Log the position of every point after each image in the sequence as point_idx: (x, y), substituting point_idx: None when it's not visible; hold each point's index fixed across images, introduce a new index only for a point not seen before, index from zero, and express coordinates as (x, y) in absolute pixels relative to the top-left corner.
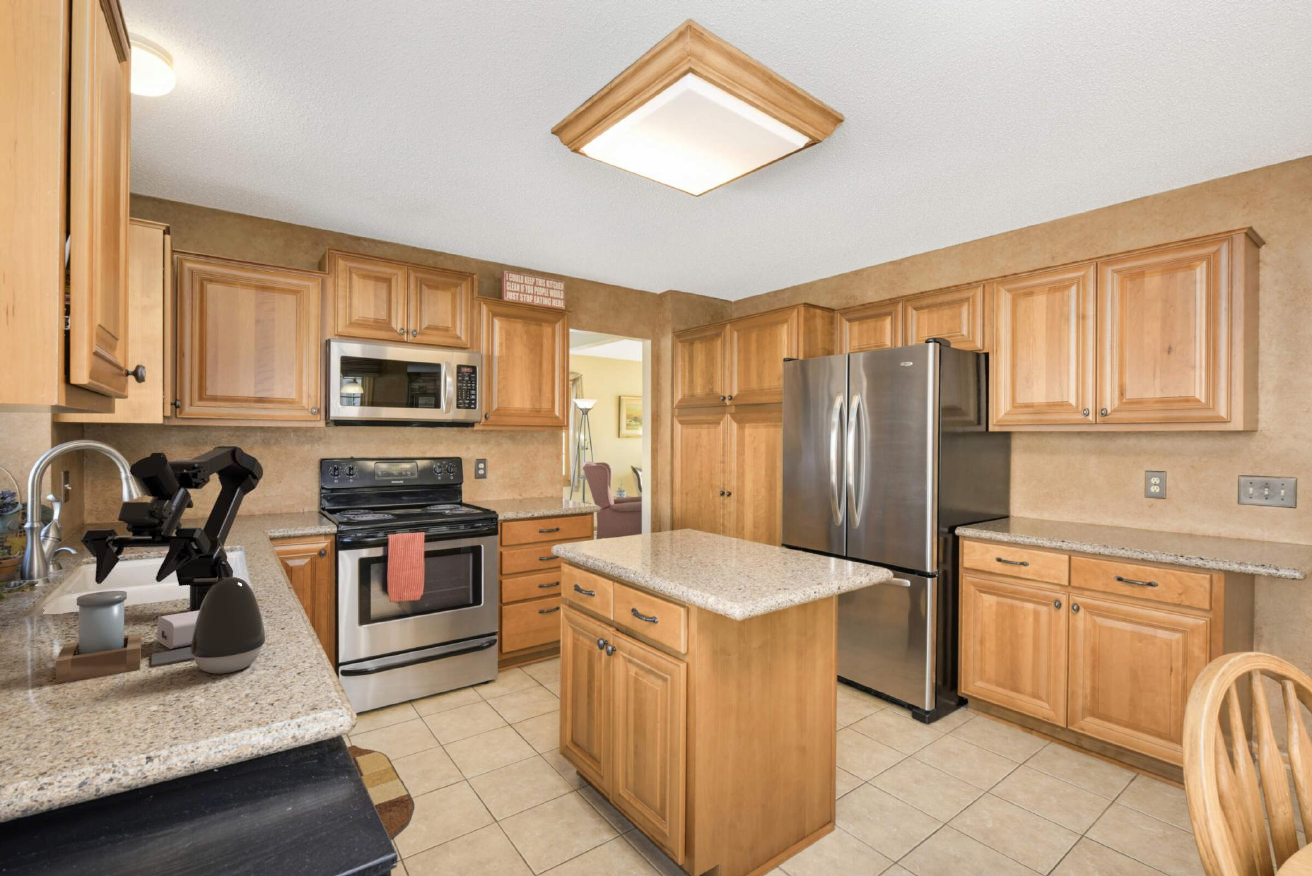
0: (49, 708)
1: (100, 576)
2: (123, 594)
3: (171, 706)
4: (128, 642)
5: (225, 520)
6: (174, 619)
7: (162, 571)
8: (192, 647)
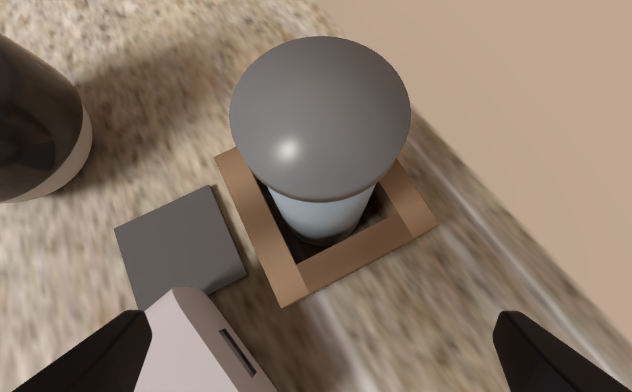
0: (284, 24)
1: (523, 347)
2: (230, 109)
3: (105, 7)
4: (268, 211)
5: None
6: (186, 354)
7: (72, 349)
8: (60, 75)
